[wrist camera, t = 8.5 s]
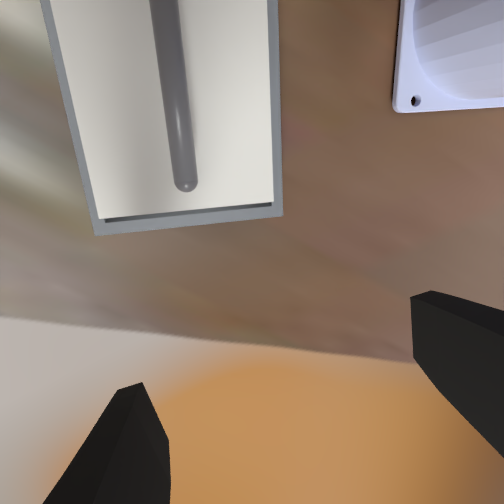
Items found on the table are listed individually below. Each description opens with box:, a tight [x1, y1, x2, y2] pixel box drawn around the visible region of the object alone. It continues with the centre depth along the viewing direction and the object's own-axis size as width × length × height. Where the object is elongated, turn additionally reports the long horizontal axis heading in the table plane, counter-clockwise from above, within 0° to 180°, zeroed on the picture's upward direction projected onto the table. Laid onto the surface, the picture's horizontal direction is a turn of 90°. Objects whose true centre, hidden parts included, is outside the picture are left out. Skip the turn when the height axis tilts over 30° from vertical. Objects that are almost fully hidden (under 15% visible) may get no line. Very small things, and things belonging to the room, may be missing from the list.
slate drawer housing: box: [40, 0, 283, 236], centre depth 14 cm, size 8×10×2 cm
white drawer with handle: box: [50, 0, 274, 219], centre depth 11 cm, size 5×7×7 cm
